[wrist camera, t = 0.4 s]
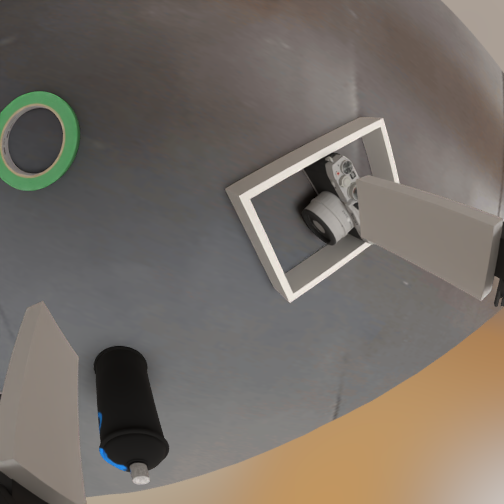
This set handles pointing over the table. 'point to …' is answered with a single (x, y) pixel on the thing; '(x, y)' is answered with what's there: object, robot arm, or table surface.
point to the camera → (333, 199)
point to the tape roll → (21, 180)
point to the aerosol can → (128, 414)
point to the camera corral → (286, 166)
